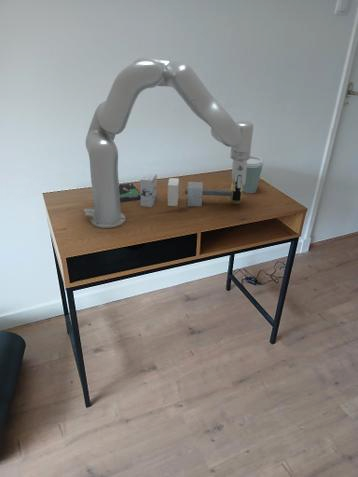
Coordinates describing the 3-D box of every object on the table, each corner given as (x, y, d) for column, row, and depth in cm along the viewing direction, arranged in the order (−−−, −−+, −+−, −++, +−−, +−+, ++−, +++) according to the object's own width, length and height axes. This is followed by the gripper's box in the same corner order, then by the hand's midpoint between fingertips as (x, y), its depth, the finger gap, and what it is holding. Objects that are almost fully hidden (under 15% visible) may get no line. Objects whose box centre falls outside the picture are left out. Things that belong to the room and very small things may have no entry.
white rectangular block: (167, 205, 151) (167, 185, 146) (169, 198, 157) (169, 178, 153) (177, 206, 150) (177, 185, 146) (178, 198, 157) (178, 178, 153)
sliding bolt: (184, 201, 151) (185, 183, 147) (185, 197, 155) (185, 179, 151) (241, 203, 150) (243, 185, 146) (240, 199, 154) (242, 181, 150)
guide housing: (187, 206, 151) (187, 187, 147) (187, 199, 157) (188, 181, 153) (201, 206, 150) (202, 188, 146) (201, 199, 156) (202, 182, 152)
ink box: (146, 198, 157) (145, 172, 151) (157, 199, 156) (157, 173, 150) (140, 206, 149) (139, 179, 144) (152, 207, 149) (151, 180, 143)
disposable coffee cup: (262, 195, 162) (266, 162, 154) (237, 195, 162) (241, 162, 154) (257, 186, 171) (261, 155, 164) (234, 186, 171) (237, 155, 164)
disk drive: (110, 191, 164) (117, 203, 152) (109, 185, 163) (117, 197, 151) (132, 188, 168) (141, 200, 156) (132, 182, 166) (141, 194, 154)
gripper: (252, 161, 135) (246, 206, 144) (247, 148, 149) (242, 190, 158) (232, 160, 135) (227, 205, 144) (229, 148, 150) (225, 189, 159)
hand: (235, 197), depth 151 cm, fingers closed on sliding bolt, 4 cm apart
